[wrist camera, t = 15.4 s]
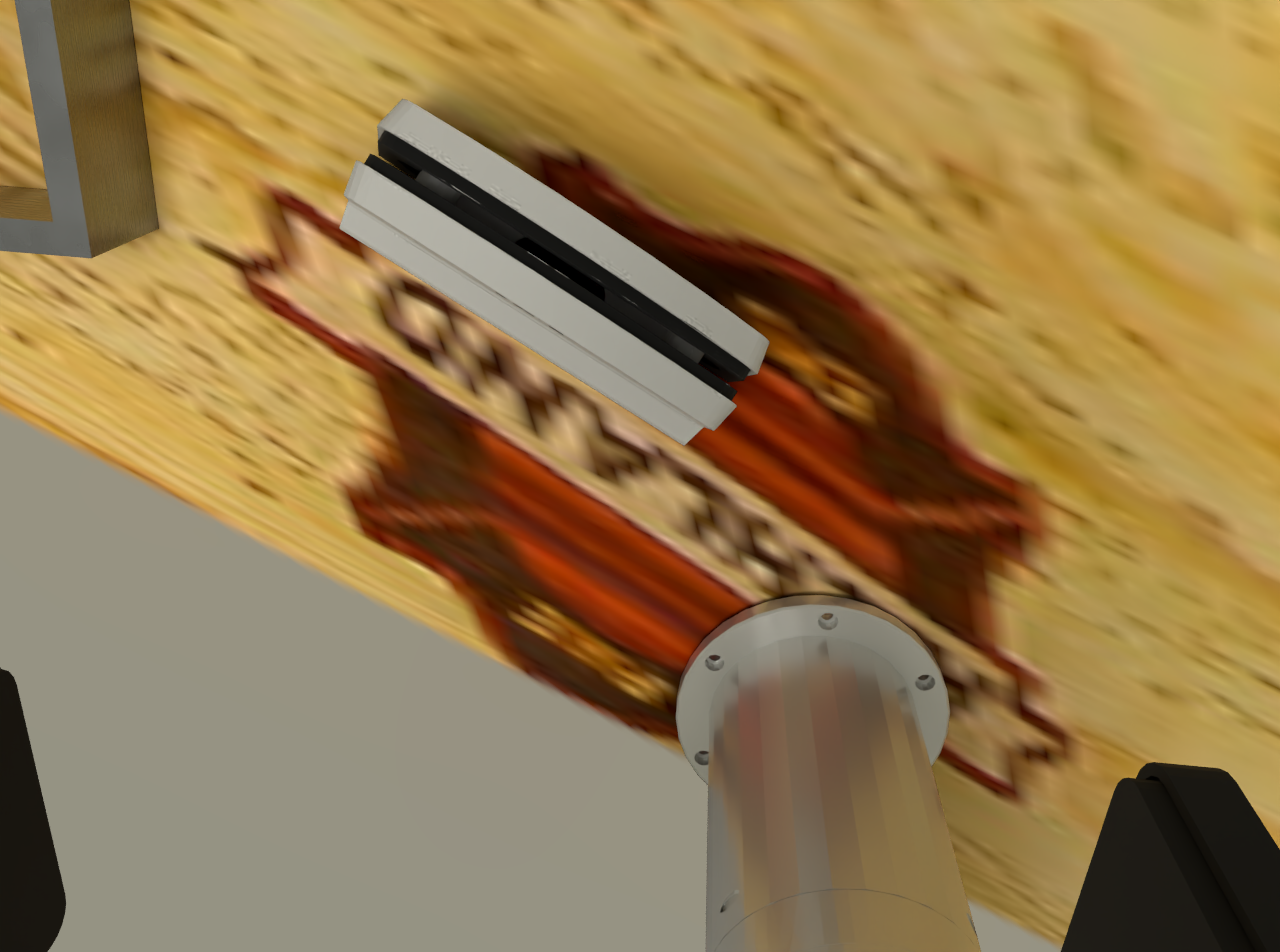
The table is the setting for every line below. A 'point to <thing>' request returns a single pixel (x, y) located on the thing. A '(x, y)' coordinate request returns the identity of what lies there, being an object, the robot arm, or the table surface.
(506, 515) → the table surface
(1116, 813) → the robot arm
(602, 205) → the table surface
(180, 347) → the table surface
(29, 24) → the square socket
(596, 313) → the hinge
